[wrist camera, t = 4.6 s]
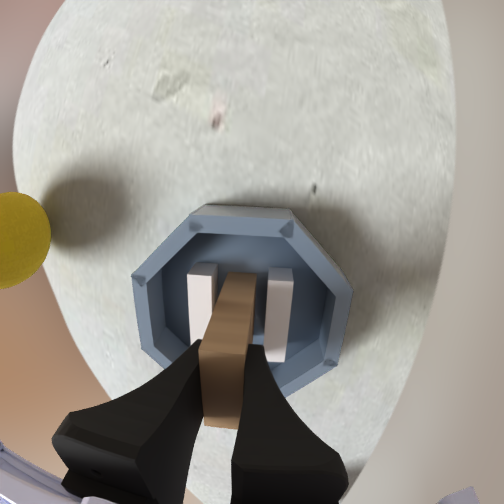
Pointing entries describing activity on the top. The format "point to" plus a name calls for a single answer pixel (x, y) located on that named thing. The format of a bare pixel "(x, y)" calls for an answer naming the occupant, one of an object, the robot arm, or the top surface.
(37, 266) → the lemon
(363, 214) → the top surface
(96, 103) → the top surface
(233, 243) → the octagonal blue tray
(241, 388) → the brown wooden plank
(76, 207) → the top surface
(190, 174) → the top surface
